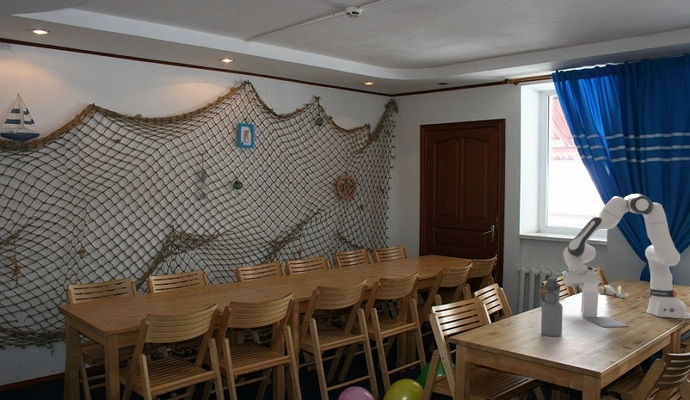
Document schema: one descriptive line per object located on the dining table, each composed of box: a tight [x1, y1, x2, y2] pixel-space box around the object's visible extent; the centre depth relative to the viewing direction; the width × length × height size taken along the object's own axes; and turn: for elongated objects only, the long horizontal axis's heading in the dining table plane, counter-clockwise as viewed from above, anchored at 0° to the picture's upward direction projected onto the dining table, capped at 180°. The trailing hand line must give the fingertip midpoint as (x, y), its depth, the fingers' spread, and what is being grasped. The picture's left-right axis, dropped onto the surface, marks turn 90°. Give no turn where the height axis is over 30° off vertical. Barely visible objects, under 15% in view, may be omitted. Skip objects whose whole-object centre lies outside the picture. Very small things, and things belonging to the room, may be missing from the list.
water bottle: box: [540, 276, 564, 337], centre depth 295 cm, size 10×10×28 cm
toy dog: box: [598, 280, 630, 299], centre depth 395 cm, size 12×19×9 cm, turn 41°
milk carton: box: [580, 282, 599, 317], centre depth 335 cm, size 7×7×19 cm
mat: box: [582, 316, 630, 329], centre depth 321 cm, size 20×14×1 cm
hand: (586, 291), depth 339 cm, fingers closed
